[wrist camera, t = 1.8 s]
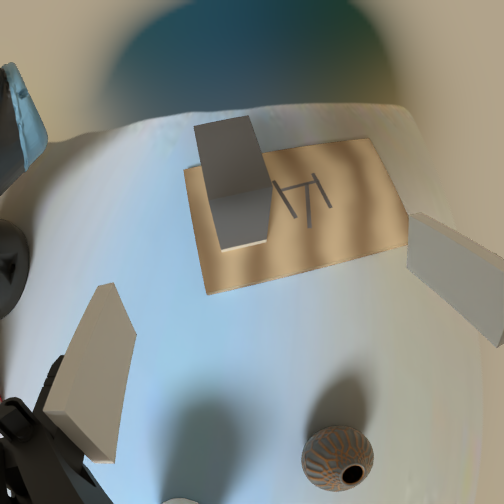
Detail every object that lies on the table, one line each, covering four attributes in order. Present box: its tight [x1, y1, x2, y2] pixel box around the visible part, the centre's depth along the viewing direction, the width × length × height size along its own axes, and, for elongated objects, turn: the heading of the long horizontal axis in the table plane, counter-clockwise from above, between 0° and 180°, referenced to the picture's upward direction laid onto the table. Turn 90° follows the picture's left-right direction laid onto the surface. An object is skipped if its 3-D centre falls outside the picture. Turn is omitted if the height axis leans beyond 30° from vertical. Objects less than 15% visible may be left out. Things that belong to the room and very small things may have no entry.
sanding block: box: [194, 116, 273, 252], centre depth 30 cm, size 8×5×11 cm, turn 14°
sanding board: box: [184, 138, 409, 295], centre depth 36 cm, size 26×16×1 cm, turn 104°
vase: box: [301, 426, 374, 492], centre depth 23 cm, size 7×7×9 cm
